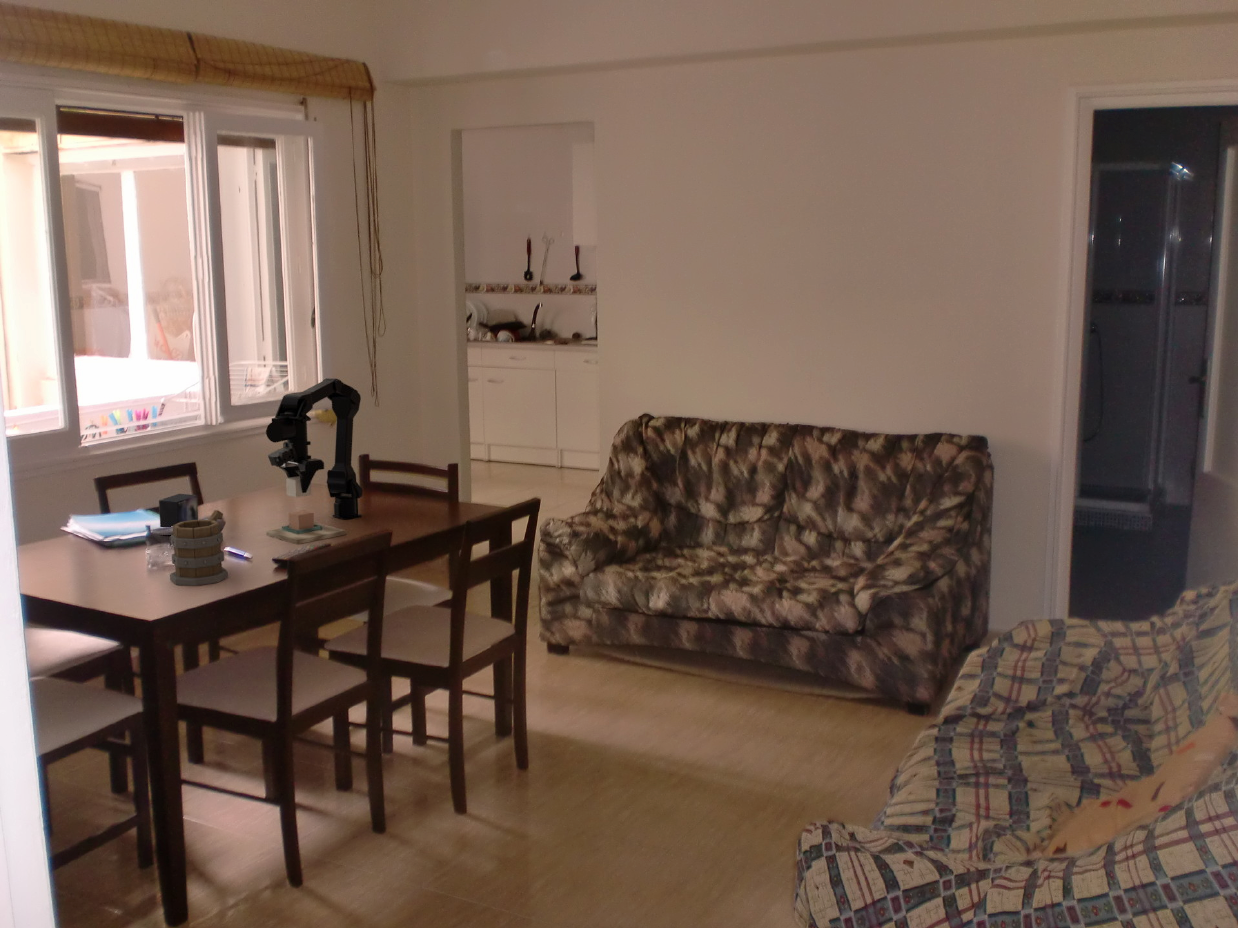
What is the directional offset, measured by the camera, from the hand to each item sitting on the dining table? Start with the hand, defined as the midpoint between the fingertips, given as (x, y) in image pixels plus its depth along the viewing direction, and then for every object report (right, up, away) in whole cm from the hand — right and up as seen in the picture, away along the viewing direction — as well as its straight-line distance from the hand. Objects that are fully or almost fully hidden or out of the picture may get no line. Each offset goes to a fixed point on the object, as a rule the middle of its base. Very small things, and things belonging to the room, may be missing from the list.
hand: (299, 491), depth 333 cm
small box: (-36, -12, +3) cm, 38 cm away
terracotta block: (+1, -11, +1) cm, 11 cm away
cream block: (0, -1, 0) cm, 1 cm away
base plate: (+2, -12, 0) cm, 13 cm away
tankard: (-11, -20, -43) cm, 49 cm away
